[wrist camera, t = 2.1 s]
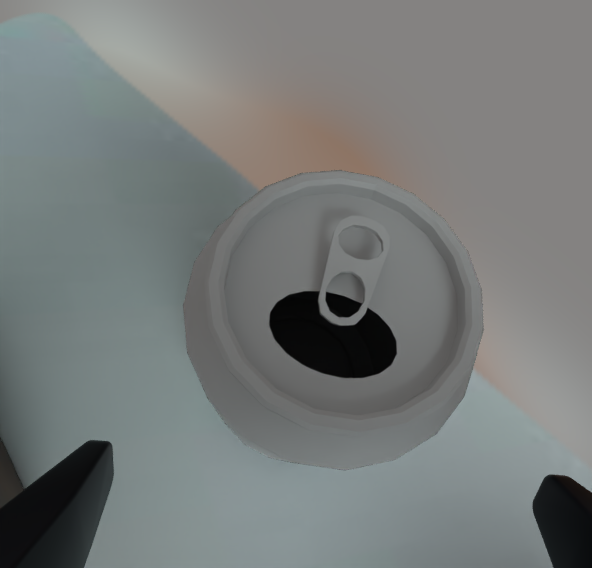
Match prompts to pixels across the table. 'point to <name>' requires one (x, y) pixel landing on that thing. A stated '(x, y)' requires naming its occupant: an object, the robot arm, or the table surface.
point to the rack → (8, 478)
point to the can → (334, 320)
